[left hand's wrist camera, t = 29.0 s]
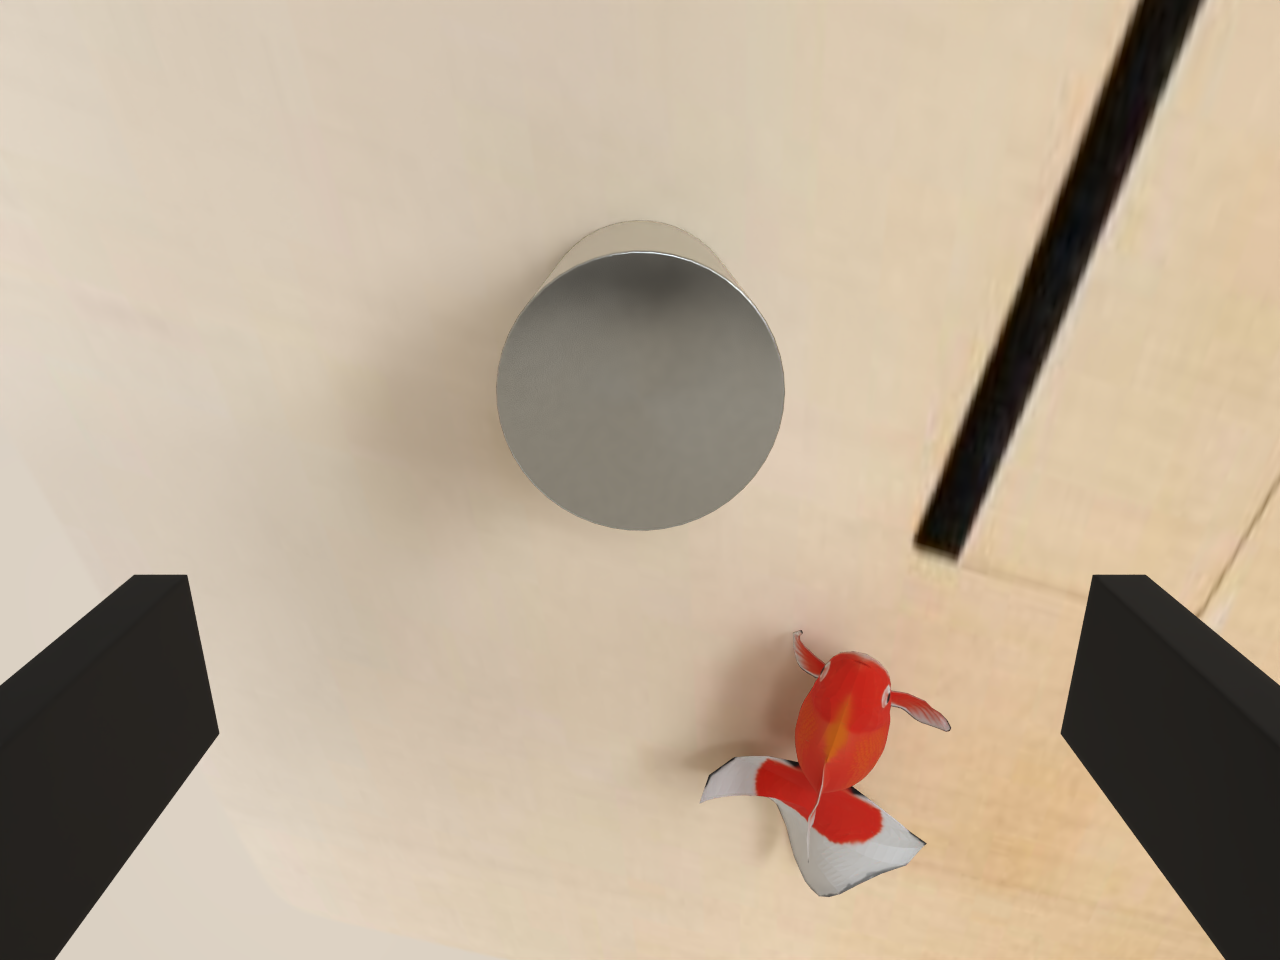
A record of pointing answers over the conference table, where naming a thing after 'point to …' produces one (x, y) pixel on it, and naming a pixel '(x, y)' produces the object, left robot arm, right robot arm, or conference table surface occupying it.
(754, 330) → the can
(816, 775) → the fish
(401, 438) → the conference table surface
